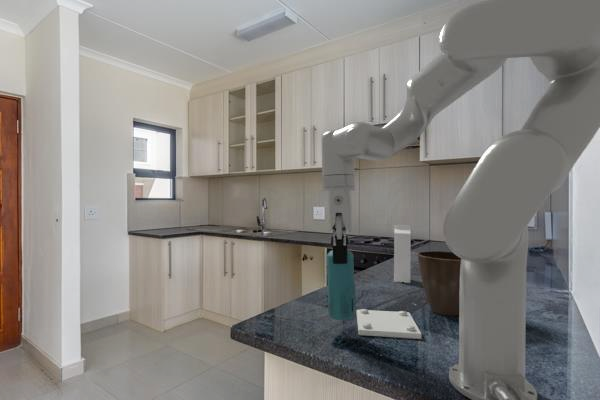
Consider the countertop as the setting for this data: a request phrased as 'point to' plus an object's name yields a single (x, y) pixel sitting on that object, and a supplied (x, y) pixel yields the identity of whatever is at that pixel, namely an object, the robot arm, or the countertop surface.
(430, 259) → the plant pot
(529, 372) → the countertop surface
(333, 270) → the beverage bottle
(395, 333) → the base plate
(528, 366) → the countertop surface
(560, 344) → the countertop surface
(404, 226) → the milk
